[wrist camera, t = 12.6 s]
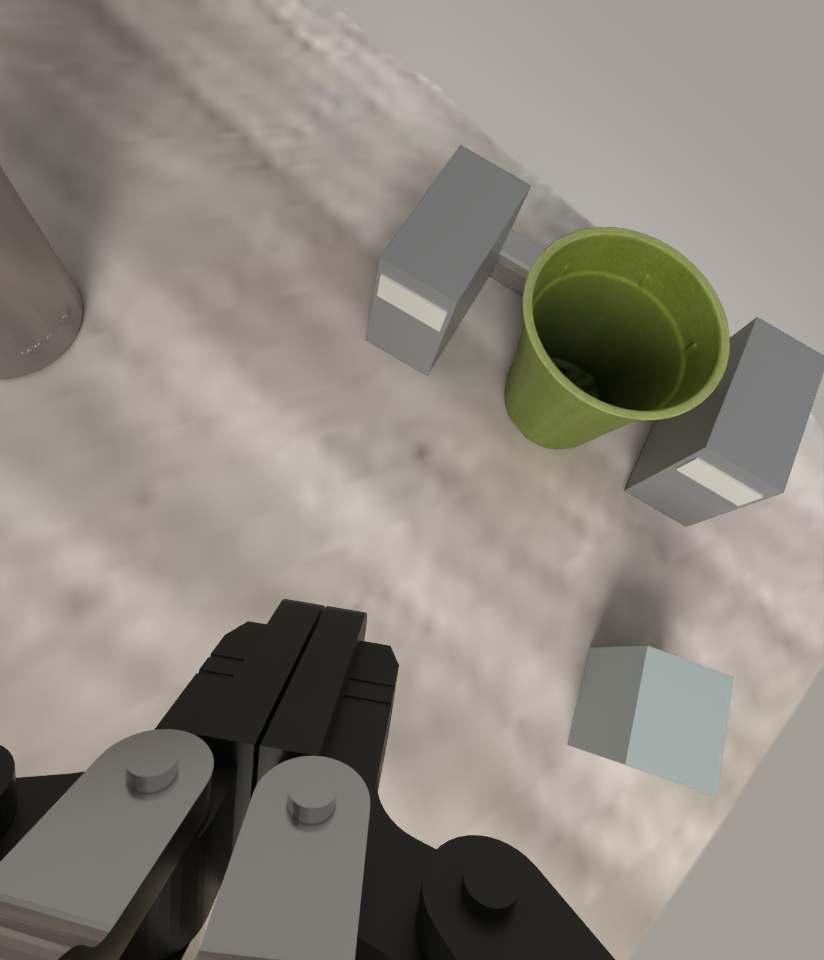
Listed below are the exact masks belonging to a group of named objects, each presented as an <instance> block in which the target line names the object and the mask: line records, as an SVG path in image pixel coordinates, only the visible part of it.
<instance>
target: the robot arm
mask: <svg viewBox="0 0 824 960" xmlns="http://www.w3.org/2000/svg"><path fill="white" fill-rule="evenodd" d="M82 314H83V309H82V299H81V297H80V294H79V291H78V289H77V286H76V285H75V283H74V282H73V280H72V279H71V277H70V275H69V274H68V272H67V271H66V269H65V268H64V266H63V264H62V263H61V261H60V260H59V258H58V257H57V255H56V253H55V252H54V250H53V248H52V247H51V245H50V243H49V242H48V240H47V239H46V237H45V235H44V234H43V232H42V231H41V229H40V228H39V226H38V224H37V223H36V221H35V220H34V218H33V217H32V215H31V213H30V212H29V210H28V209H27V207H26V206H25V204H24V202H23V201H22V199H21V198H20V196H19V195H18V193H17V191H16V190H15V188H14V187H13V185H12V184H11V182H10V180H9V179H8V177H7V176H6V174H5V173H4V171H3V169H2V168H1V166H0V379H9V378H13V377H18V376H23V375H27V374H29V373H32V372H34V371H37V370H40V369H42V368H43V367H45V366H47V365H48V364H50V363H52V362H53V361H55V360H56V359H57V358H58V357H59V356H60V355H61V354H63V353H64V352H65V351H66V350H67V349H68V347H69V346H70V345H71V343H72V342H73V340H74V339H75V337H76V335H77V333H78V330H79V328H80V326H81V320H82ZM366 623H367V613H365V612H359V611H353V610H348V609H342V608H336V607H330V606H327V607H326V608H325V606H323V605H318V604H312V603H306V602H300V601H294V600H288V599H283V600H282V601H281V603H280V604H279V606H278V608H277V609H276V611H275V612H274V614H273V615H272V617H271V619H270V620H269V622H268V623H267V625H266V624H260V623H255V622H249V621H248V622H246V623H245V624H243V625H241V626H239V627H238V628H236V629H234V630H233V631H231V632H229V633H228V634H226V635H225V636H224V637H223V638H222V640H221V641H220V642H219V644H218V645H217V646H216V648H215V649H214V650H213V652H212V653H211V656H210V658H209V657H208V658H207V660H206V661H205V662H204V664H203V665H202V666H201V668H200V669H199V673H198V674H197V673H196V675H195V676H194V677H193V679H192V680H191V681H190V683H189V684H188V685H187V687H186V688H185V689H184V691H183V692H182V693H181V695H180V696H179V697H178V699H177V700H176V701H175V703H174V704H173V705H172V707H171V708H170V709H169V711H168V712H167V713H166V715H165V716H164V717H163V719H162V720H161V721H160V723H159V724H158V726H157V727H156V728H155V730H150V731H145V732H141V733H138V734H135V735H132V736H130V737H127V738H125V739H123V740H121V741H119V742H117V743H116V744H114V745H113V746H111V747H110V748H108V749H107V750H106V751H105V752H104V753H103V754H102V755H100V756H99V757H98V759H97V760H96V761H95V762H94V763H93V764H92V765H91V766H90V767H89V768H88V769H87V770H86V771H85V772H79V773H71V774H60V775H47V776H35V777H22V778H16V777H15V763H14V759H13V756H12V755H11V753H10V752H9V751H8V750H7V749H6V748H4V747H3V746H1V745H0V960H615V959H614V958H613V957H612V955H611V954H610V953H609V952H608V951H607V949H606V948H605V947H604V946H603V945H602V944H601V942H600V941H599V940H598V939H597V938H596V937H595V935H594V934H593V933H592V932H591V931H590V929H589V928H588V927H587V926H586V925H585V924H584V922H583V921H582V920H581V919H580V918H579V917H578V915H577V914H576V913H575V912H574V911H573V909H572V908H571V907H570V906H569V905H568V904H567V902H566V901H565V900H564V899H563V898H562V896H561V895H560V894H559V893H558V892H557V891H556V889H555V888H554V887H553V886H552V885H551V884H550V882H549V881H548V880H547V879H546V878H545V876H544V875H543V874H542V873H541V872H540V871H539V869H538V868H537V867H536V866H535V865H534V864H533V863H532V862H531V861H530V860H529V859H528V858H527V857H526V856H525V855H524V854H522V853H521V852H520V851H519V850H517V849H515V848H514V847H512V846H510V845H509V844H507V843H504V842H502V841H500V840H497V839H494V838H490V837H486V836H479V835H468V836H462V837H457V838H455V839H452V840H449V841H447V842H446V843H444V844H443V845H441V846H440V847H439V848H438V849H437V850H436V849H434V848H433V847H431V846H429V845H427V844H425V843H423V842H421V841H419V840H417V839H415V838H414V837H412V836H410V835H409V834H407V833H406V832H404V831H403V830H402V829H401V828H399V827H398V826H397V825H396V824H395V823H394V822H393V821H392V820H391V819H390V817H389V816H388V814H387V813H386V812H385V810H384V808H383V806H382V804H381V802H380V799H379V795H378V788H379V782H380V777H381V772H382V766H383V761H384V755H385V750H386V745H387V739H388V733H389V726H390V720H391V713H392V707H393V700H394V694H395V687H396V681H397V674H398V668H399V664H398V662H397V660H396V658H395V655H394V653H393V651H392V649H391V646H388V645H382V644H377V643H371V642H365V641H364V638H365V631H366ZM221 884H222V885H221ZM220 887H221V888H220ZM219 889H220V891H219ZM218 891H219V894H218ZM217 894H218V897H217V900H216V903H215V906H214V908H213V911H212V914H211V917H210V920H209V923H208V926H207V929H206V932H205V921H206V919H207V917H208V915H209V912H210V910H211V908H212V905H213V903H214V901H215V898H216V896H217Z"/></svg>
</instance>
